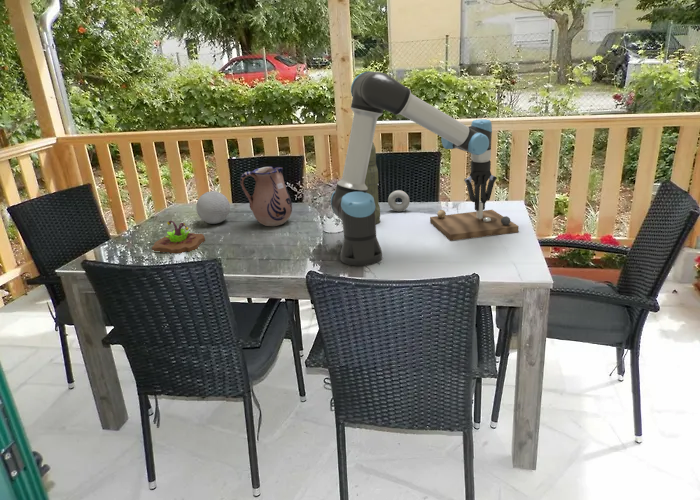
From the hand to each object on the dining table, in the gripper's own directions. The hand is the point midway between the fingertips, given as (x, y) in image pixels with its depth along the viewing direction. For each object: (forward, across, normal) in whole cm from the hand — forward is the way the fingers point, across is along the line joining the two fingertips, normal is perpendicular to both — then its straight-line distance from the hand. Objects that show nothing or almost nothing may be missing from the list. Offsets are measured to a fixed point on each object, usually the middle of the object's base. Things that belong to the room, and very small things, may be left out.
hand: (479, 217), depth 212 cm
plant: (+4, +122, -22) cm, 124 cm away
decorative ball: (+4, +109, -48) cm, 119 cm away
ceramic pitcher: (+4, +84, -36) cm, 91 cm away
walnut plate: (+4, +3, 0) cm, 5 cm away
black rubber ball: (-1, -7, +9) cm, 11 cm away
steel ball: (+2, -3, 0) cm, 4 cm away
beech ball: (-1, +13, -9) cm, 16 cm away
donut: (+4, +25, -33) cm, 42 cm away
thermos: (+4, +41, -22) cm, 47 cm away
